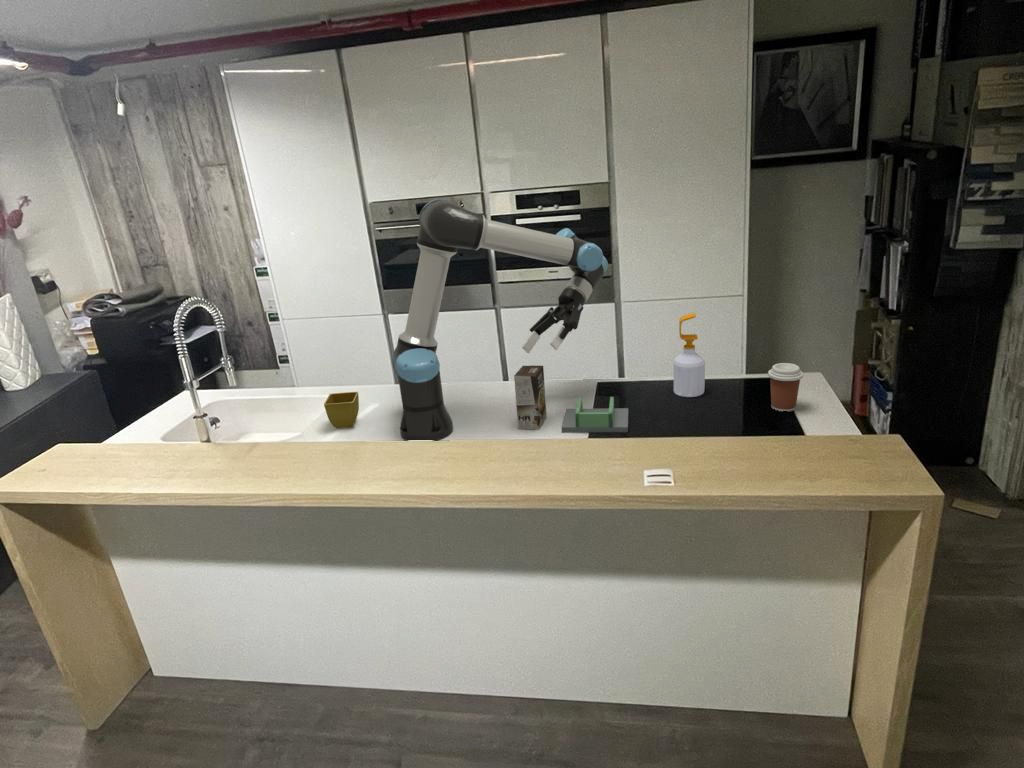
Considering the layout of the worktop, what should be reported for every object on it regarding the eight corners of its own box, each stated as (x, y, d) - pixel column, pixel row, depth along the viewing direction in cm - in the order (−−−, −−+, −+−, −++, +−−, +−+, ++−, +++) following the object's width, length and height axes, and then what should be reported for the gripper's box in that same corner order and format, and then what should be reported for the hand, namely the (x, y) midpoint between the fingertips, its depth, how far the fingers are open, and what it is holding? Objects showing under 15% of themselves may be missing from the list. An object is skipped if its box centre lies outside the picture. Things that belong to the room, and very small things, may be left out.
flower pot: (363, 418, 208) (358, 390, 205) (358, 429, 200) (353, 401, 197) (334, 420, 208) (329, 393, 205) (328, 432, 200) (323, 404, 197)
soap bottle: (705, 397, 201) (706, 317, 192) (673, 397, 203) (673, 318, 194) (703, 386, 209) (704, 309, 200) (673, 387, 211) (673, 310, 202)
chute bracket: (561, 432, 187) (560, 414, 185) (566, 413, 199) (565, 396, 197) (627, 432, 183) (627, 413, 181) (628, 413, 195) (628, 395, 193)
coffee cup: (766, 412, 188) (769, 372, 183) (765, 400, 196) (767, 361, 191) (802, 414, 185) (805, 373, 181) (799, 401, 193) (802, 361, 189)
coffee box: (539, 430, 189) (535, 376, 184) (517, 428, 191) (512, 375, 186) (547, 417, 197) (544, 365, 192) (526, 415, 199) (522, 364, 194)
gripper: (610, 298, 193) (574, 354, 185) (557, 309, 214) (522, 359, 206) (594, 280, 190) (557, 335, 182) (542, 292, 211) (506, 343, 203)
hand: (538, 348), depth 194 cm, fingers open, 13 cm apart
